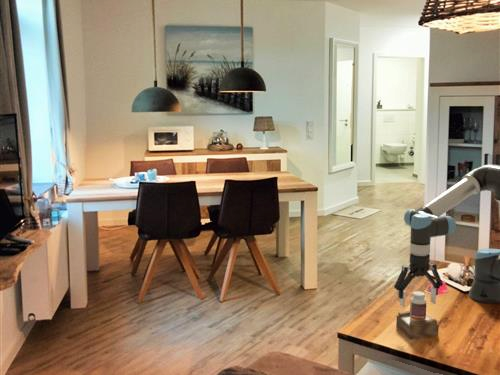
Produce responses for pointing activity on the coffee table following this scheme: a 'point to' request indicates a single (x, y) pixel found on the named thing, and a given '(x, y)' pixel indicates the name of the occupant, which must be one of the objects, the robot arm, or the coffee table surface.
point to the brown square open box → (416, 326)
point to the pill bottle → (418, 306)
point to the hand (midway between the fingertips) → (417, 304)
